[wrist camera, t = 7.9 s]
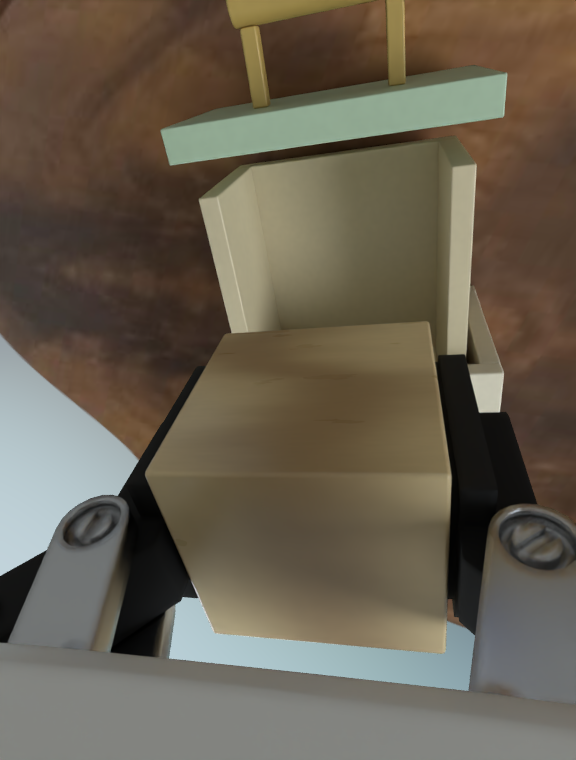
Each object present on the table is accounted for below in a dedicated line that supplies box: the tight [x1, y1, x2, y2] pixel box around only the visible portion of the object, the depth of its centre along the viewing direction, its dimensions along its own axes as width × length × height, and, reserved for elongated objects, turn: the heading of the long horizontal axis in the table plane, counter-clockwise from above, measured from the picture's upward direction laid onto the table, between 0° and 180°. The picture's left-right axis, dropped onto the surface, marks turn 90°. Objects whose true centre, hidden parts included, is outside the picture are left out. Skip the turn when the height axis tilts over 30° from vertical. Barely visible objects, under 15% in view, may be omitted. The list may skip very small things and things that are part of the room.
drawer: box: [161, 0, 507, 362], centre depth 21 cm, size 17×11×7 cm, turn 9°
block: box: [145, 321, 452, 654], centre depth 10 cm, size 4×4×4 cm
